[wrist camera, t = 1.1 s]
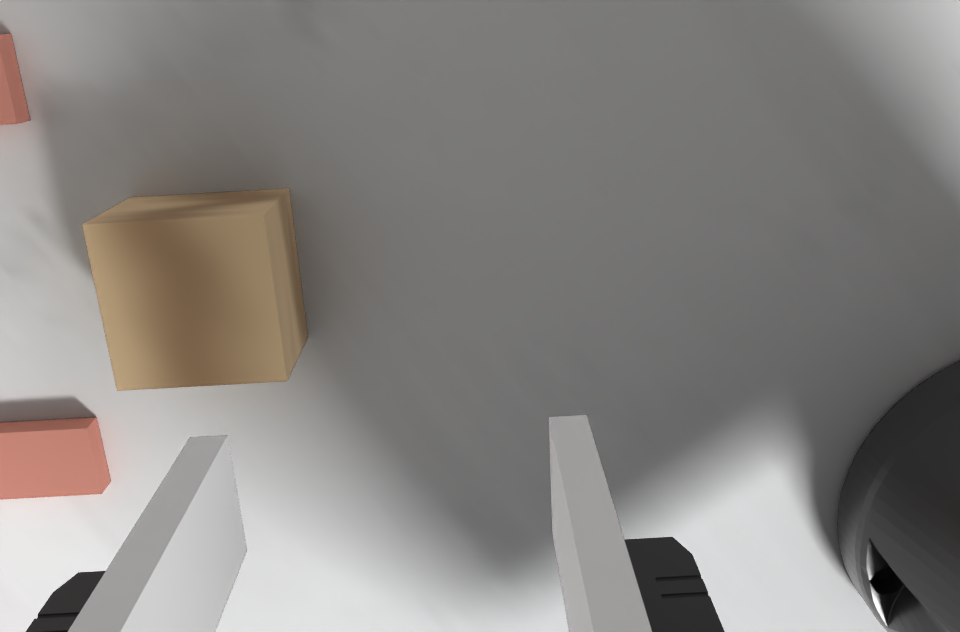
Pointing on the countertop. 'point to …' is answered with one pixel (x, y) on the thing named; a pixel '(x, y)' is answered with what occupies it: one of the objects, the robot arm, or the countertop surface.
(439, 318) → the countertop surface
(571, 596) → the robot arm
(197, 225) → the oak block
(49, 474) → the mats
